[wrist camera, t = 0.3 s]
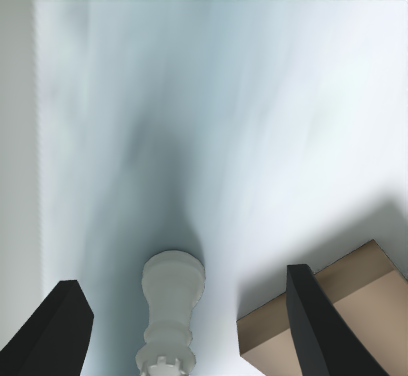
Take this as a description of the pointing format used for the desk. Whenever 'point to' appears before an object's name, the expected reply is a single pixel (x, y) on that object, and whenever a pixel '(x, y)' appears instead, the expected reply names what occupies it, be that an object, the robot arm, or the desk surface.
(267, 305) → the walnut block
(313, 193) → the desk surface
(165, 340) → the rook chess piece
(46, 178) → the desk surface
